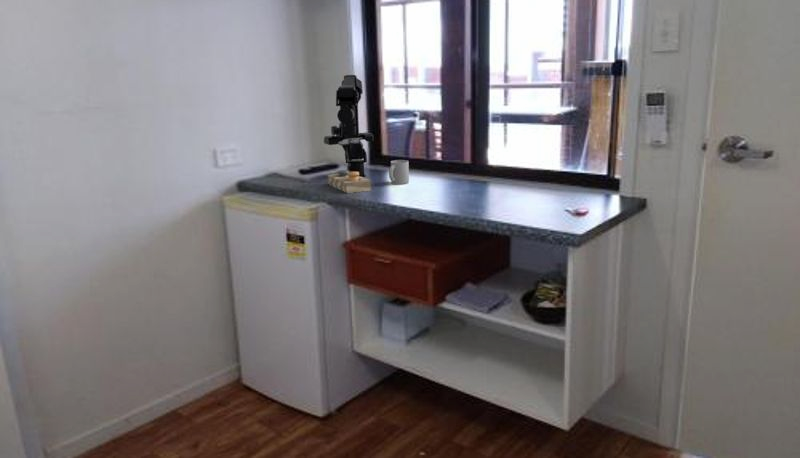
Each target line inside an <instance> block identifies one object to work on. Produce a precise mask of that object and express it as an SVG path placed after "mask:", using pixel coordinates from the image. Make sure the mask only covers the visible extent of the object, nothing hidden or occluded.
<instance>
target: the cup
mask: <svg viewBox="0 0 800 458" xmlns="http://www.w3.org/2000/svg"><path fill="white" fill-rule="evenodd" d="M409 169H410V165H409V160H407V159H406V160H405V159H395V160H391V161H390V167H389V170H388V177H389V180H390V181H391V183H392V185H398V186H399V185H400V186H401V185H403V186H404V185H407V184H409V181H410V170H409Z"/></svg>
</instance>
